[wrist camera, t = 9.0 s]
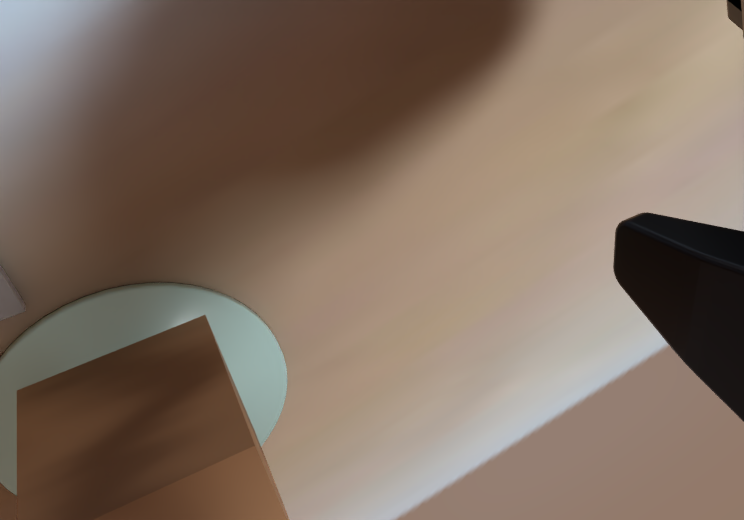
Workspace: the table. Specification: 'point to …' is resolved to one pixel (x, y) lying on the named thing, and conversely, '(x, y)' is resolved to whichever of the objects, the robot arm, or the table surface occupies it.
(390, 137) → the table surface
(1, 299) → the tile
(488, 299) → the table surface
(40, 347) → the pale green disc
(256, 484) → the walnut block
